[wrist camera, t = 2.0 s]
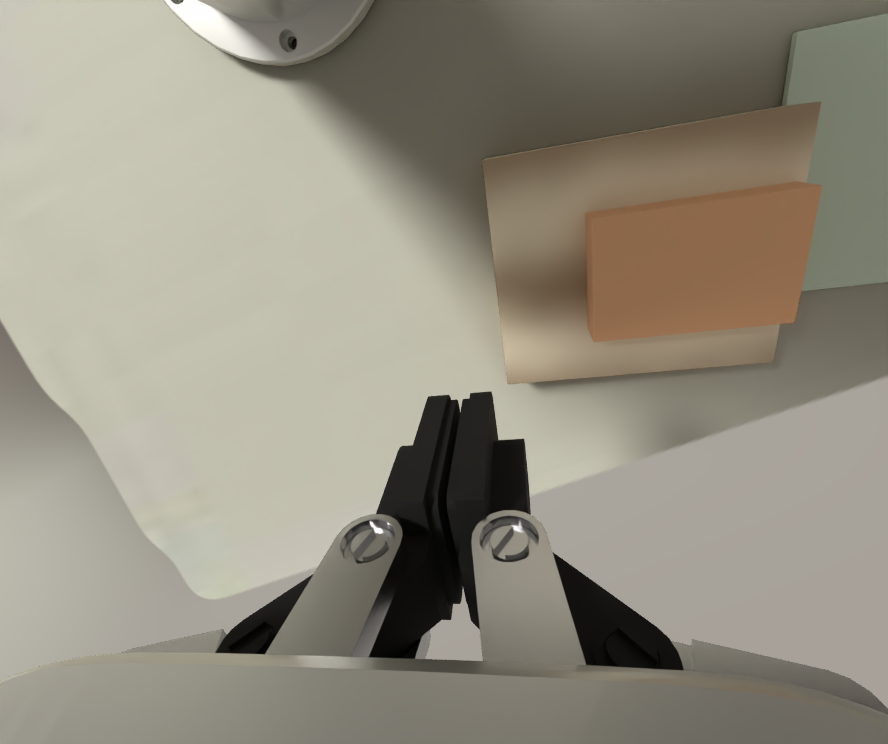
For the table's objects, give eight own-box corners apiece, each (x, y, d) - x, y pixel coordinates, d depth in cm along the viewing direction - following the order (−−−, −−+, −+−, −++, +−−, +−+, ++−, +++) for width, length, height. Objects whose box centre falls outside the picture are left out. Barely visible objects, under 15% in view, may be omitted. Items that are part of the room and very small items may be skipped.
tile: (585, 212, 21) (592, 218, 20) (796, 181, 20) (822, 185, 18) (588, 328, 24) (593, 342, 22) (774, 309, 22) (794, 322, 21)
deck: (484, 158, 23) (482, 161, 21) (781, 106, 21) (821, 101, 18) (507, 361, 29) (507, 384, 26) (746, 339, 26) (773, 362, 24)
